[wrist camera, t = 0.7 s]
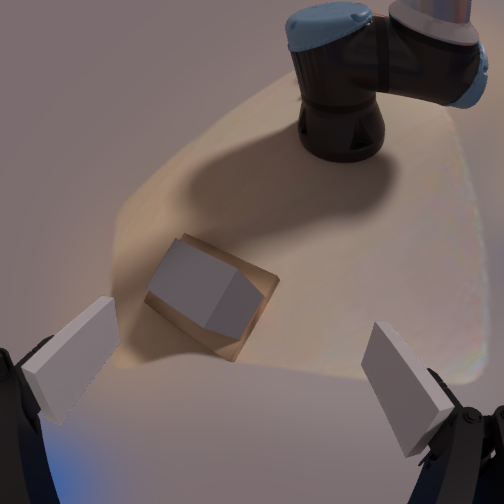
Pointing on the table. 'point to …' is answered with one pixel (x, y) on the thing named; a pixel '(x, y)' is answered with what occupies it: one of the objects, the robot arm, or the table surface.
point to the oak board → (208, 338)
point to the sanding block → (206, 290)
